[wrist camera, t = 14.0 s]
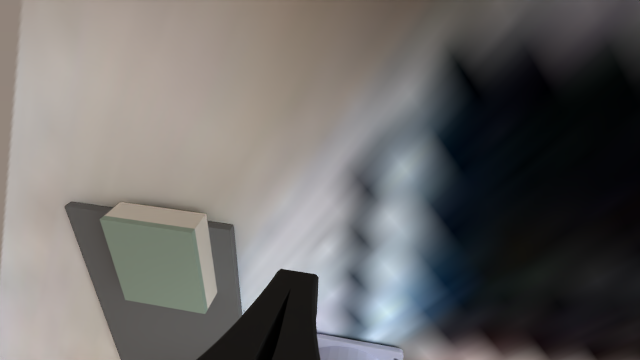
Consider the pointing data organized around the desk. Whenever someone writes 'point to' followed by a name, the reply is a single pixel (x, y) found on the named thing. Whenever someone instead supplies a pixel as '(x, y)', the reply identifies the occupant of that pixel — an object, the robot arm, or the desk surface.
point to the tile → (161, 256)
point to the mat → (151, 320)
